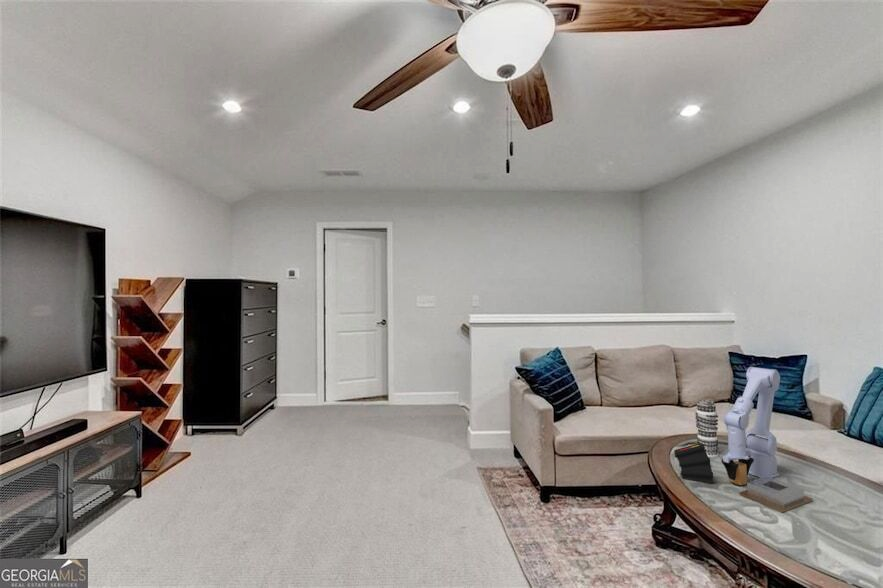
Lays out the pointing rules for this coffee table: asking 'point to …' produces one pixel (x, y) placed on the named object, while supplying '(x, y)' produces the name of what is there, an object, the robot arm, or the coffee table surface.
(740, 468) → the orange rectangular block
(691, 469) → the black ridged slab
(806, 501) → the socket
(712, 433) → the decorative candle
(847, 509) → the coffee table surface
